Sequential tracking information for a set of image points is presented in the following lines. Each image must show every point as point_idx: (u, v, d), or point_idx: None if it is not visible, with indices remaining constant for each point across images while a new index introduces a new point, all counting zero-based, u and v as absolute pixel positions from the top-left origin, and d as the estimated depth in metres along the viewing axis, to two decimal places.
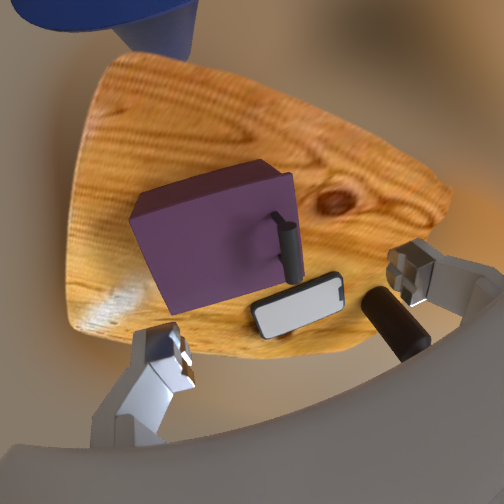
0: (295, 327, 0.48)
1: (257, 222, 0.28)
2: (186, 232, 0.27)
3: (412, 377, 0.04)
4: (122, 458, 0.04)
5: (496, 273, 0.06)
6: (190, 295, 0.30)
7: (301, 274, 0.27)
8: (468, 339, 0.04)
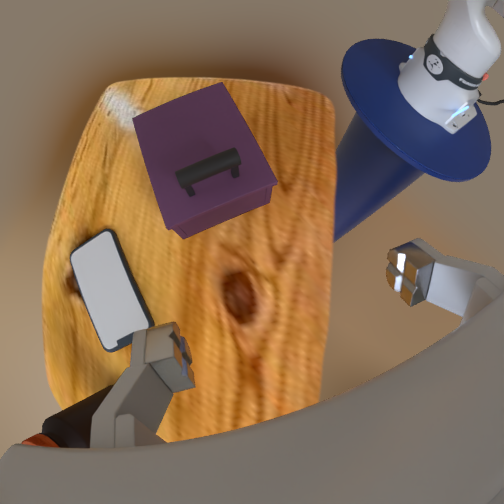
0: (82, 288, 0.34)
1: None
2: (213, 114, 0.30)
3: (413, 377, 0.04)
4: (122, 458, 0.04)
5: (496, 273, 0.06)
6: (152, 127, 0.30)
7: (186, 179, 0.24)
8: (468, 339, 0.04)
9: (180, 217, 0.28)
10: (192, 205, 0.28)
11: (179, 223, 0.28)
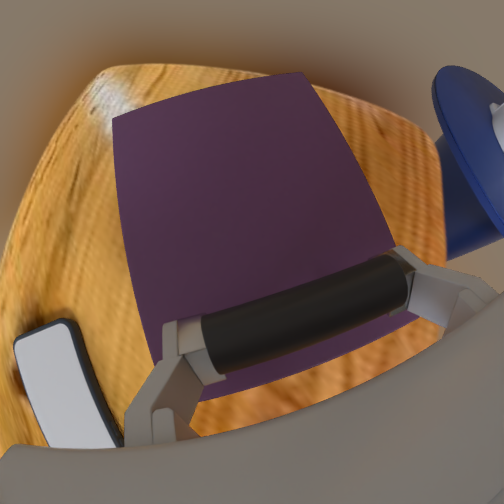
0: (32, 401, 0.16)
1: (321, 262, 0.12)
2: (288, 132, 0.14)
3: (412, 377, 0.04)
4: (122, 458, 0.04)
5: (481, 284, 0.06)
6: (148, 141, 0.14)
7: (243, 361, 0.07)
8: (468, 339, 0.04)
9: (203, 390, 0.11)
10: None
11: None
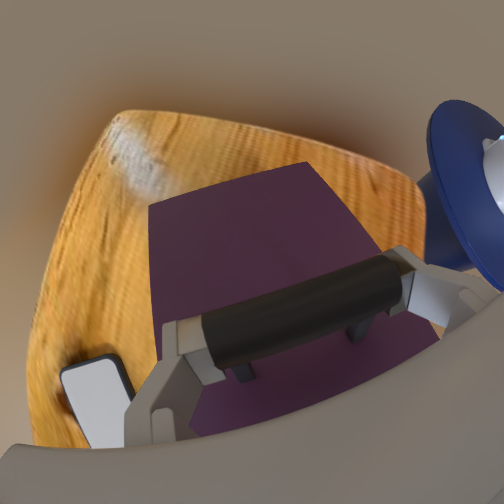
0: (79, 420, 0.22)
1: None
2: (296, 207, 0.17)
3: (412, 377, 0.04)
4: (122, 458, 0.04)
5: (481, 284, 0.06)
6: (178, 221, 0.18)
7: (237, 345, 0.07)
8: (468, 339, 0.04)
9: (211, 430, 0.09)
10: (245, 406, 0.10)
11: None
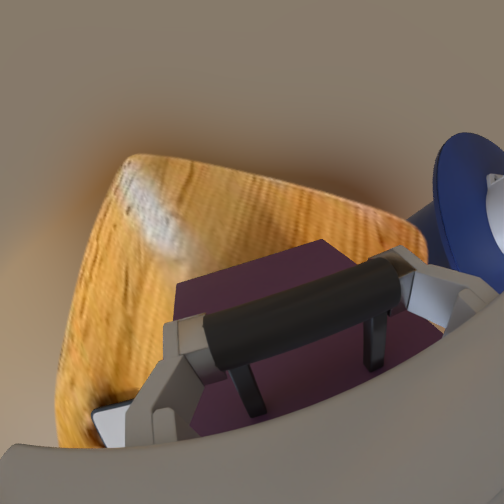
0: None
1: (347, 343, 0.12)
2: (312, 273, 0.18)
3: (413, 377, 0.04)
4: (122, 458, 0.04)
5: (481, 284, 0.06)
6: (202, 294, 0.19)
7: (234, 333, 0.07)
8: (468, 339, 0.04)
9: None
10: None
11: None
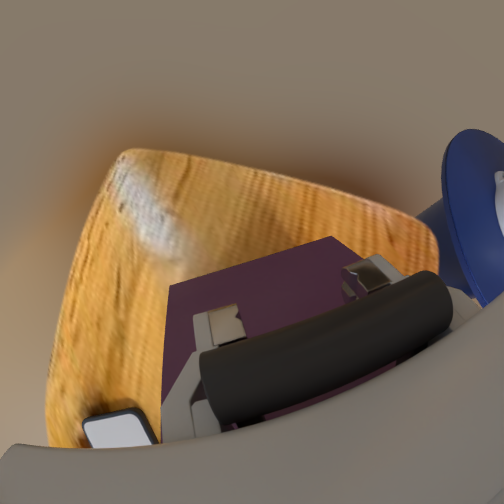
0: None
1: None
2: (323, 277, 0.16)
3: (413, 377, 0.04)
4: (122, 458, 0.04)
5: (462, 298, 0.06)
6: (198, 299, 0.17)
7: (243, 383, 0.05)
8: (468, 339, 0.04)
9: None
10: None
11: None
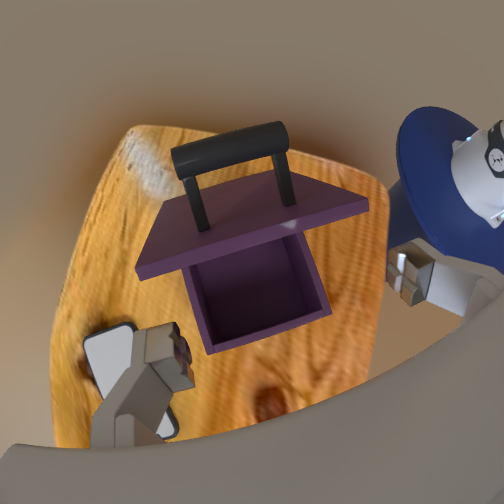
0: (98, 381, 0.29)
1: (275, 199, 0.18)
2: (263, 180, 0.24)
3: (412, 377, 0.04)
4: (122, 458, 0.04)
5: (496, 273, 0.06)
6: (182, 200, 0.25)
7: (185, 149, 0.13)
8: (468, 339, 0.04)
9: (167, 253, 0.13)
10: (198, 239, 0.14)
11: (162, 263, 0.13)
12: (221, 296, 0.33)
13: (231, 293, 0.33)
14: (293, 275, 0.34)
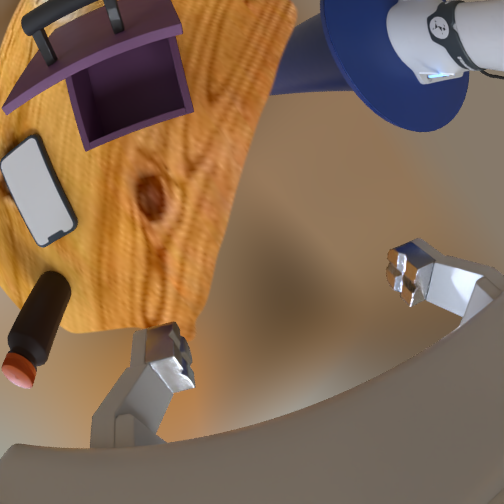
0: (13, 194, 0.29)
1: None
2: (134, 2, 0.15)
3: (413, 377, 0.04)
4: (122, 458, 0.04)
5: (496, 273, 0.06)
6: (65, 28, 0.15)
7: (31, 15, 0.07)
8: (468, 339, 0.04)
9: (22, 90, 0.10)
10: (43, 74, 0.11)
11: (17, 99, 0.10)
12: (108, 97, 0.28)
13: (117, 94, 0.28)
14: (175, 75, 0.29)
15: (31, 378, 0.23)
